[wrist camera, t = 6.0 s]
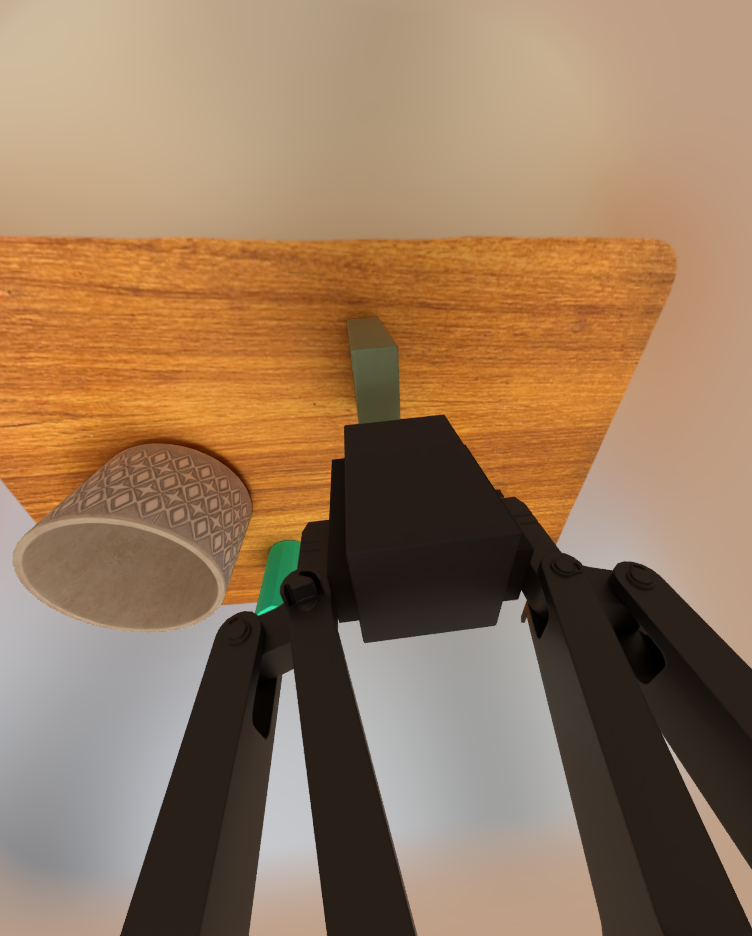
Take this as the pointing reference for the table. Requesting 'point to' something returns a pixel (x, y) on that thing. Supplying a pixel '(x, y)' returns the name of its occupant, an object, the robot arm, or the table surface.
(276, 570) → the candle
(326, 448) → the table surface
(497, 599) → the black rectangular block
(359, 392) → the stand
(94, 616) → the planter
